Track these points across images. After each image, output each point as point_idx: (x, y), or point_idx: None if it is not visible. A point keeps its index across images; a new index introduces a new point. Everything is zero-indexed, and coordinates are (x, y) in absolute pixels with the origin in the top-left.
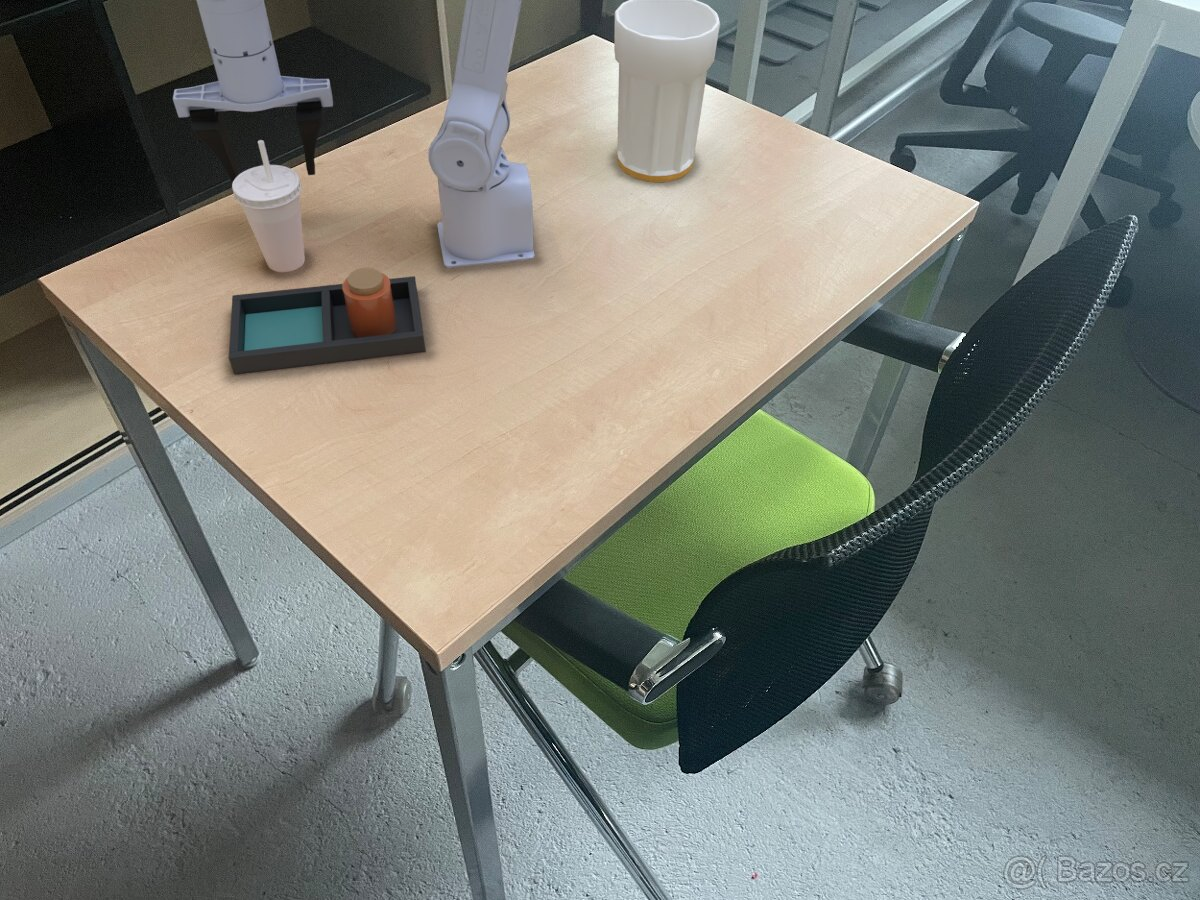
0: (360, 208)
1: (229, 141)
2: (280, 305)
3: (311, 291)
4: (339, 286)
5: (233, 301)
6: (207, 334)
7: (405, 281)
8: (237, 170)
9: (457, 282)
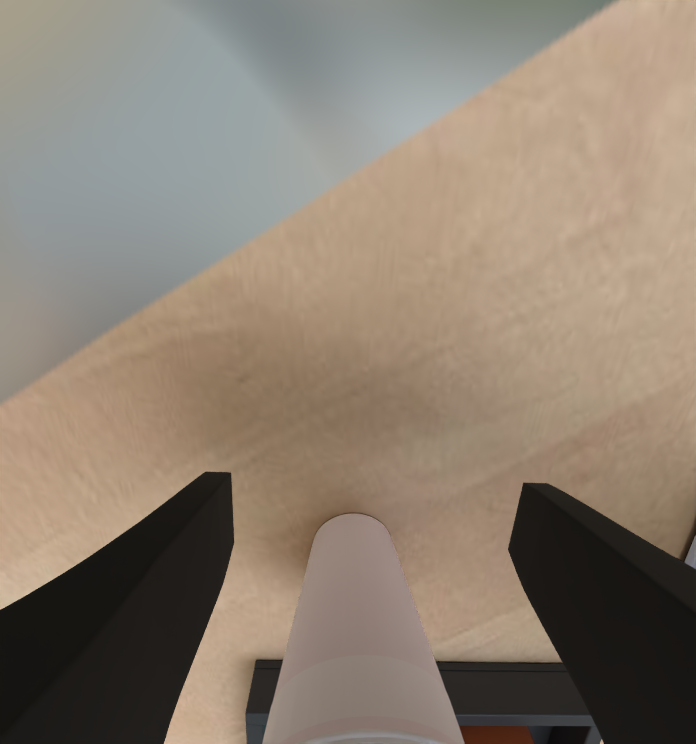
0: (561, 370)
1: (163, 560)
2: None
3: None
4: (459, 721)
5: (249, 730)
6: (205, 691)
7: (587, 725)
8: (227, 507)
9: None
